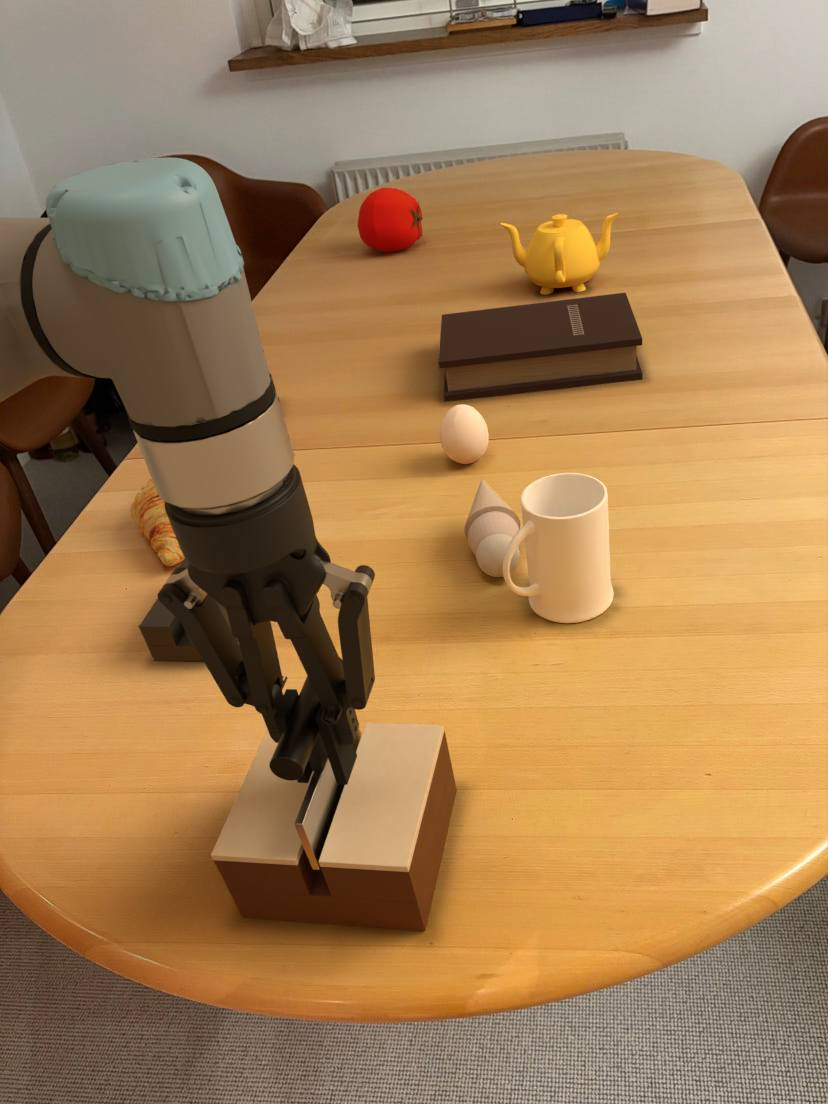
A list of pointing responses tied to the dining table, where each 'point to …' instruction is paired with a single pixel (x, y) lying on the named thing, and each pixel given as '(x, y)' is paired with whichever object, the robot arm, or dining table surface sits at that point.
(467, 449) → the egg
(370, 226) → the tomato
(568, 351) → the book
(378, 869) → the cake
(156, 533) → the croissant
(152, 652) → the slotted block
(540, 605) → the mug
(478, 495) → the ice cream cone
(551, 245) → the teapot
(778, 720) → the dining table surface
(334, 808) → the ulu knife
